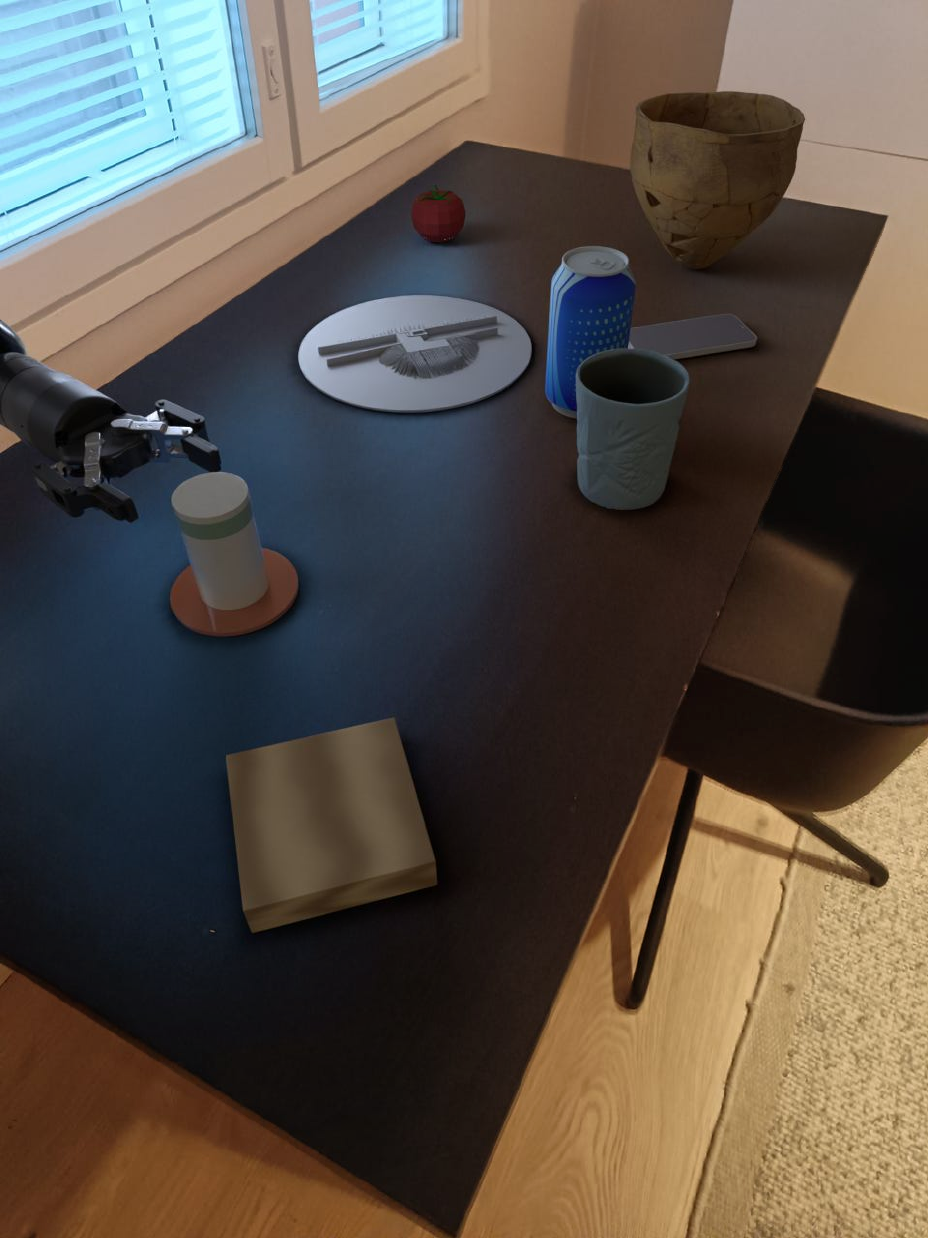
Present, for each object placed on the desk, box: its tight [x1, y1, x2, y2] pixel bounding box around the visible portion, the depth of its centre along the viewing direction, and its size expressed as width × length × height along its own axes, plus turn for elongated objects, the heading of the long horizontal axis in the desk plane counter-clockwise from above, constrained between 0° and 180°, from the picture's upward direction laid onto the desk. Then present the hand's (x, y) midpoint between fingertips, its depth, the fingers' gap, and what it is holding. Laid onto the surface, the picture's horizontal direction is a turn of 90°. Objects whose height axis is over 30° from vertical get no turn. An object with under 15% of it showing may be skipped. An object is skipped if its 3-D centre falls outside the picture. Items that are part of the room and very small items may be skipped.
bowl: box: [629, 90, 806, 271], centre depth 116 cm, size 21×20×20 cm
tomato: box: [410, 184, 467, 243], centre depth 128 cm, size 8×8×8 cm
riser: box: [225, 717, 438, 934], centre depth 60 cm, size 12×12×3 cm
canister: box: [170, 471, 269, 610], centre depth 74 cm, size 6×6×10 cm
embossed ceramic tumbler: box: [576, 348, 691, 511], centre depth 84 cm, size 10×10×12 cm
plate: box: [297, 294, 532, 414], centre depth 108 cm, size 28×28×1 cm
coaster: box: [169, 547, 300, 637], centre depth 78 cm, size 11×11×1 cm
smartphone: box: [628, 313, 758, 360], centre depth 108 cm, size 7×1×15 cm
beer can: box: [544, 245, 637, 420], centre depth 93 cm, size 8×8×16 cm
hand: (176, 486), depth 74 cm, fingers open, 8 cm apart
